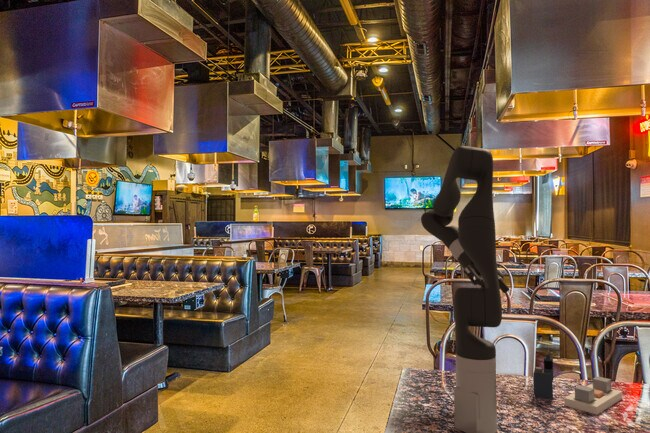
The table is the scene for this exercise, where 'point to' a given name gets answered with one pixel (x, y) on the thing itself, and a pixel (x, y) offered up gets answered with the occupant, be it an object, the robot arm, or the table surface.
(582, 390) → the key left
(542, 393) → the vaping device
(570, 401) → the keypad base
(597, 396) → the key mid
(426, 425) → the table surface
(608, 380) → the key right
